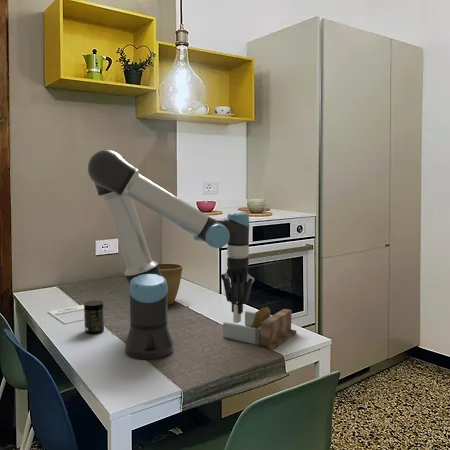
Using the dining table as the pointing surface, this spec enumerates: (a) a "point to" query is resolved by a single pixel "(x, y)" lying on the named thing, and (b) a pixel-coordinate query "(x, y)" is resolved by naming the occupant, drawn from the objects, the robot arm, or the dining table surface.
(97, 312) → the supplement container
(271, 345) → the wall
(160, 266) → the plant pot
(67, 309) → the photo frame
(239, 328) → the tray
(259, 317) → the rock
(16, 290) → the dining table surface
